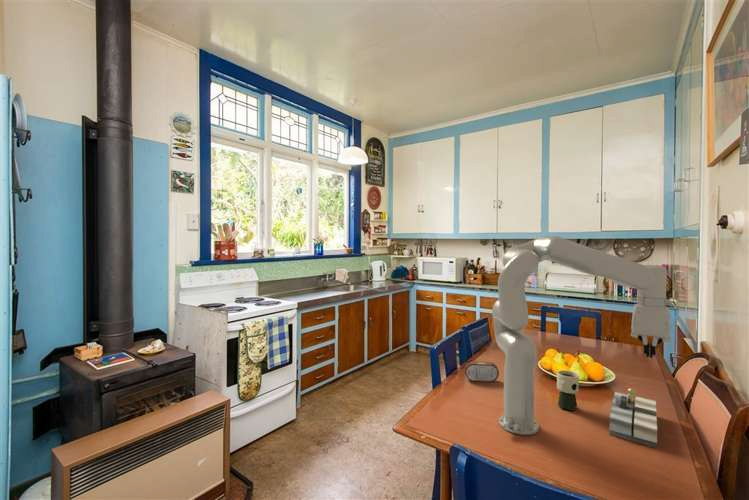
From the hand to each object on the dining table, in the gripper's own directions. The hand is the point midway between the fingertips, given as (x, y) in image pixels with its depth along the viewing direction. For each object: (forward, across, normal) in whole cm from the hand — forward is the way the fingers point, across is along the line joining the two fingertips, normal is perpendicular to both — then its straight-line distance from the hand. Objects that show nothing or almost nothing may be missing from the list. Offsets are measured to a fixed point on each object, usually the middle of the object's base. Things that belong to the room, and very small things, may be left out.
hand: (649, 356), depth 118 cm
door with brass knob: (+18, +6, +2) cm, 19 cm away
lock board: (+24, +4, +1) cm, 24 cm away
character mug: (+24, +24, +2) cm, 34 cm away
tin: (+25, +59, -2) cm, 64 cm away
